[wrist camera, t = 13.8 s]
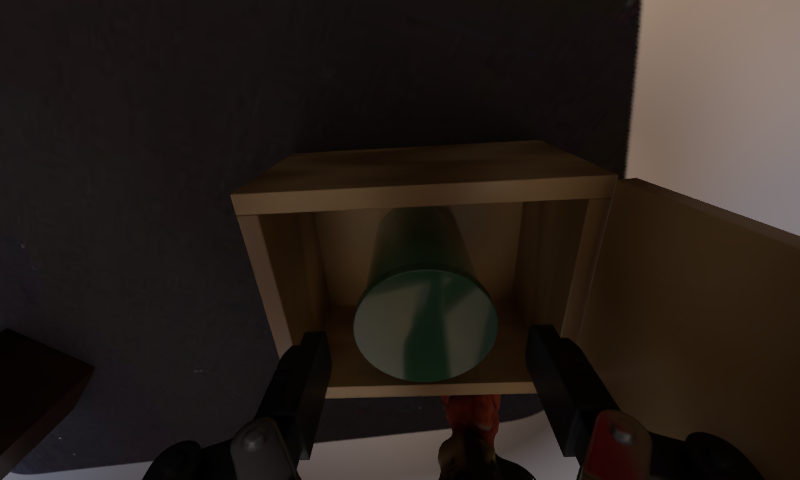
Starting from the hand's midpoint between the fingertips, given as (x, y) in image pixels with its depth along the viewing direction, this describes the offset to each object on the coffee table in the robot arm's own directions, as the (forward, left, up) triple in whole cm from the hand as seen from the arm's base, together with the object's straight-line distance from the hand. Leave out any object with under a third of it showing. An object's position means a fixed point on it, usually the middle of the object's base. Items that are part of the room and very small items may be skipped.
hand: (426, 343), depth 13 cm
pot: (0, 0, -9) cm, 9 cm away
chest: (0, 0, -10) cm, 10 cm away
